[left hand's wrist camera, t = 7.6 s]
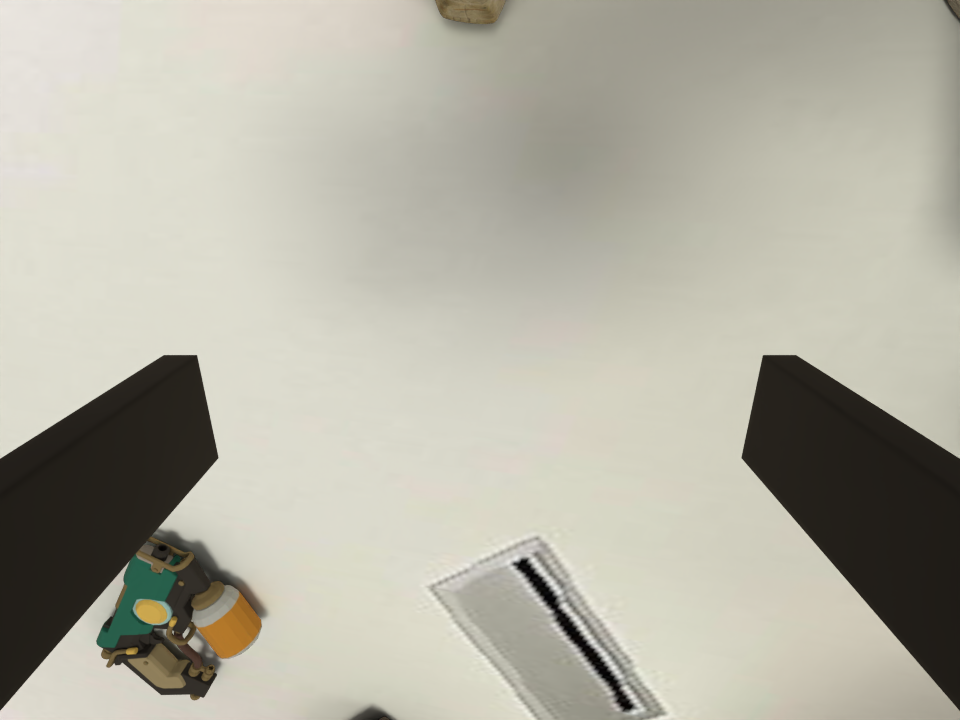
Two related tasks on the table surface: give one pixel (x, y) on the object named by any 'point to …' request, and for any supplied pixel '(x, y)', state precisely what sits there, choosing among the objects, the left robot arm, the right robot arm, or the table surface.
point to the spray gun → (175, 621)
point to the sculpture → (471, 10)
